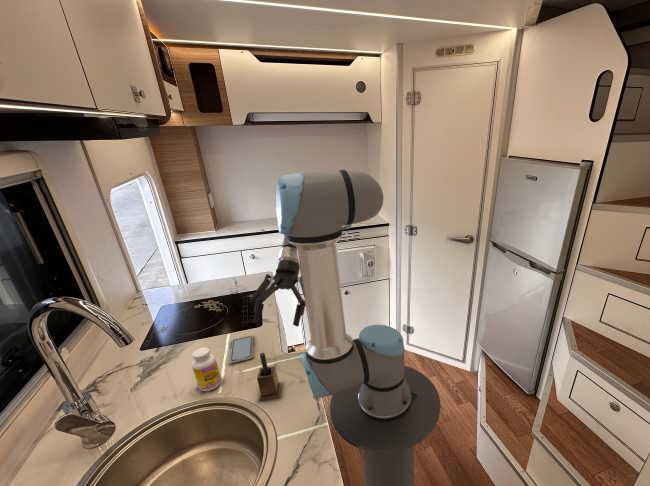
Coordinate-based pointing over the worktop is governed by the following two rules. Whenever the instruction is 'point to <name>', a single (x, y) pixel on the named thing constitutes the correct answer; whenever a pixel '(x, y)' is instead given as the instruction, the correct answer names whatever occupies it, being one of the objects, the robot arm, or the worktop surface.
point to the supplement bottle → (205, 369)
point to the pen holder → (268, 384)
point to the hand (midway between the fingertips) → (275, 324)
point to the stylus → (264, 364)
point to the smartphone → (241, 349)
